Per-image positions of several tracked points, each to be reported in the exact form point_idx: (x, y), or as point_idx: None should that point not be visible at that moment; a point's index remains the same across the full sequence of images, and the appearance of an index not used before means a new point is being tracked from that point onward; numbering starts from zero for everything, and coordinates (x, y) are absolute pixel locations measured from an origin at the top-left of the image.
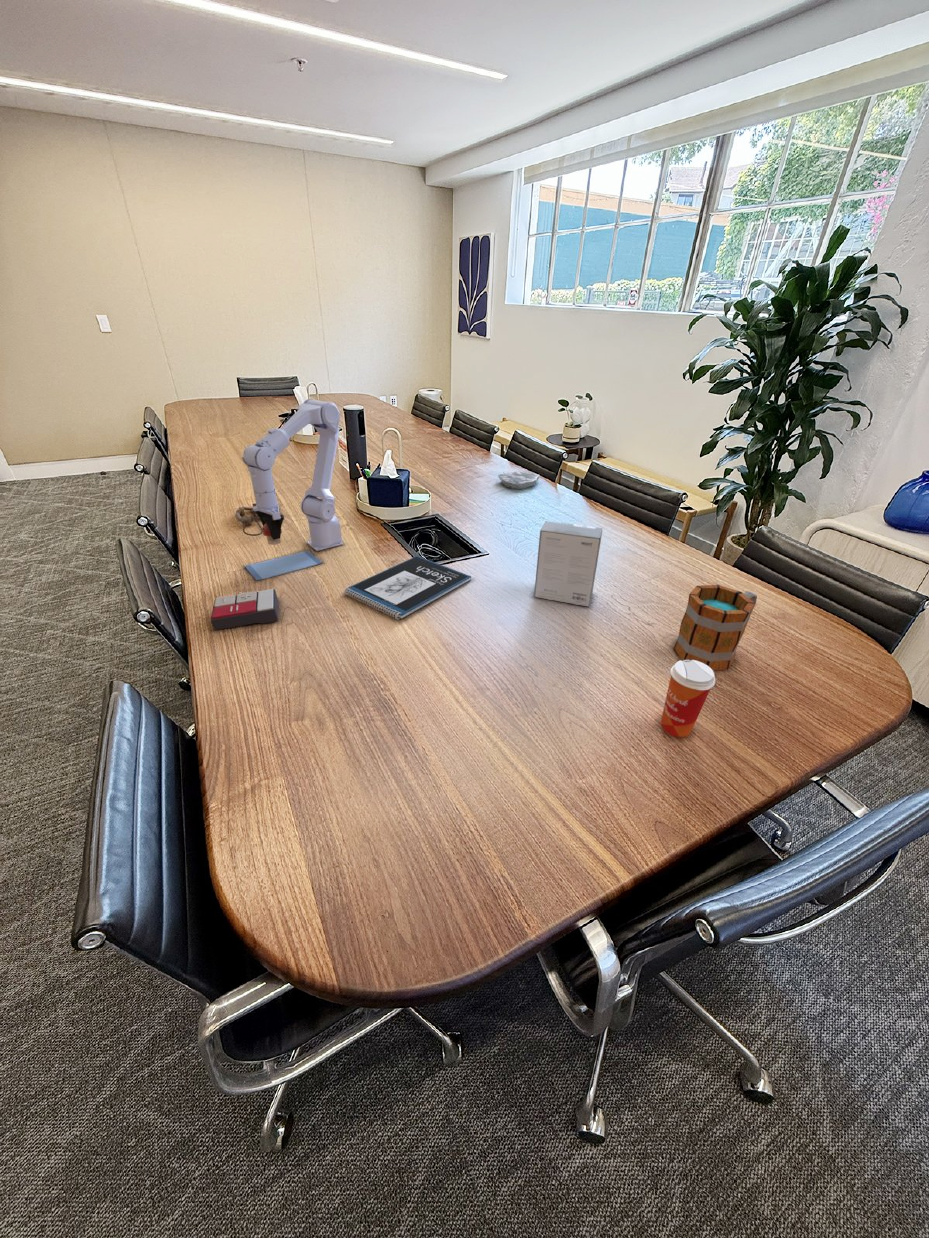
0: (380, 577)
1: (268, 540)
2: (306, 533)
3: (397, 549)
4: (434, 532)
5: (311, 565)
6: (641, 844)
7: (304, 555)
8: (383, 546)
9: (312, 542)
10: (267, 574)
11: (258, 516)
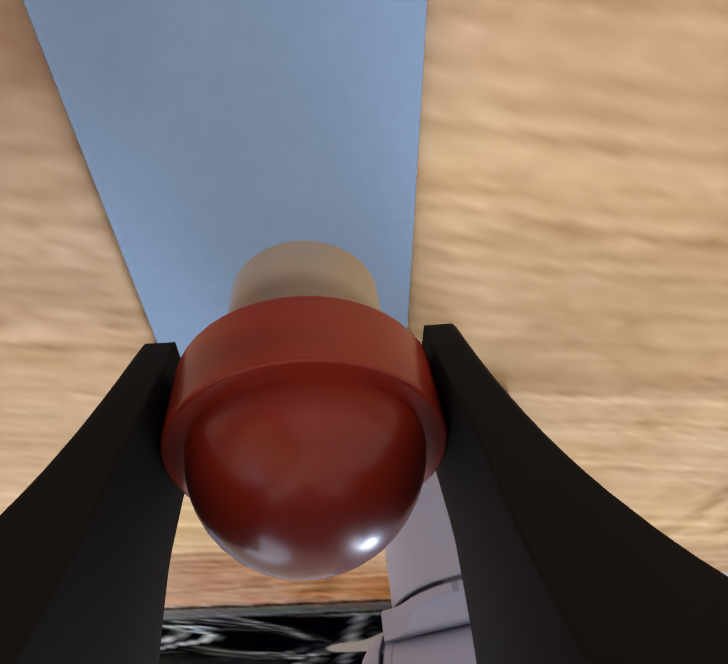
0: None
1: (272, 276)
2: (637, 417)
3: (204, 595)
4: (290, 658)
5: None
6: None
7: None
8: (258, 576)
9: None
10: (91, 6)
11: (618, 522)
